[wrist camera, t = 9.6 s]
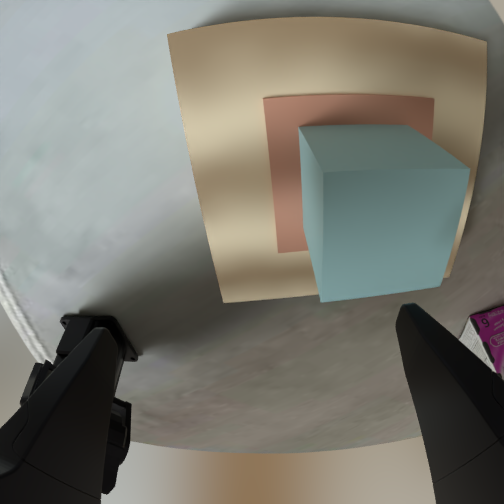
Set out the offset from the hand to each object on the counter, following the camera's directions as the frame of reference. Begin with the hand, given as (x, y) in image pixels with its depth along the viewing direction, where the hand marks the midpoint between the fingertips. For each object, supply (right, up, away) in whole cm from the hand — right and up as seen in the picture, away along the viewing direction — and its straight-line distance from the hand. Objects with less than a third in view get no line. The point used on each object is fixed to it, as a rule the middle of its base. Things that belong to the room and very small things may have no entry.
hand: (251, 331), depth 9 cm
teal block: (+5, +6, +6) cm, 10 cm away
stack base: (+5, +8, +9) cm, 13 cm away
